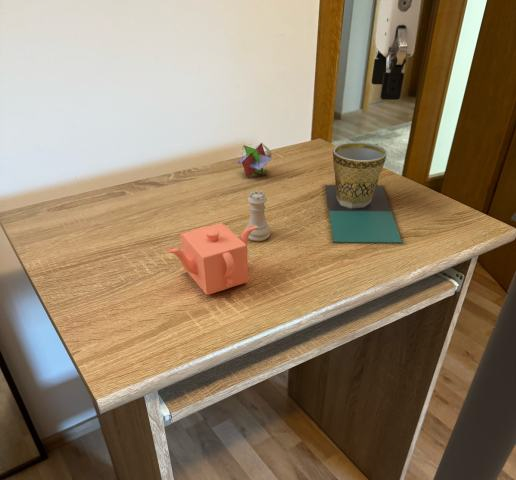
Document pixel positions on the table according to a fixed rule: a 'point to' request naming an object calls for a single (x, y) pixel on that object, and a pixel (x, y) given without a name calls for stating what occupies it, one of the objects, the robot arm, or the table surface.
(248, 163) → the geometric puzzle
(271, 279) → the table surface
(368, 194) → the ceramic cup
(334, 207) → the plate
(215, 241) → the teapot
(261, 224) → the rook chess piece
